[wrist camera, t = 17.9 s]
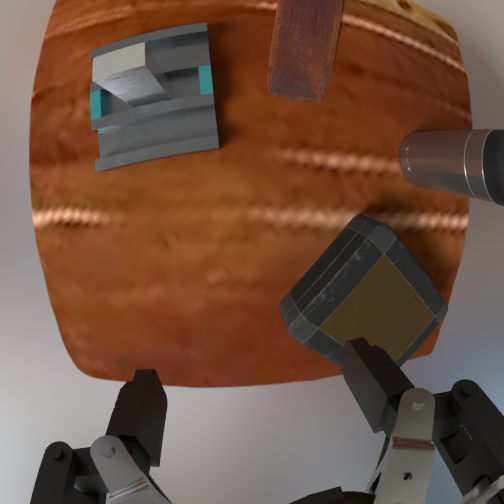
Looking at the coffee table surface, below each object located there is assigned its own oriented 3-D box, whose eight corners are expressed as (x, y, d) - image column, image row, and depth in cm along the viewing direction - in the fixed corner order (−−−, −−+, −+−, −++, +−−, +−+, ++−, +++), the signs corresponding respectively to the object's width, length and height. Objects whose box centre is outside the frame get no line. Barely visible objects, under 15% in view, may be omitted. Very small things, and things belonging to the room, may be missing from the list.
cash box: (429, 290, 45) (453, 307, 38) (362, 365, 49) (379, 390, 41) (360, 206, 39) (388, 215, 31) (273, 306, 42) (284, 334, 35)
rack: (207, 33, 28) (206, 22, 25) (219, 149, 34) (219, 147, 30) (100, 58, 27) (91, 50, 24) (106, 171, 33) (95, 171, 29)
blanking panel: (169, 82, 29) (144, 42, 16) (170, 99, 30) (145, 65, 17) (133, 90, 28) (93, 58, 16) (133, 107, 29) (92, 80, 17)
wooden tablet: (285, -29, 25) (287, -35, 24) (341, -12, 27) (345, -16, 25) (256, 93, 33) (257, 90, 31) (325, 111, 34) (329, 109, 32)
